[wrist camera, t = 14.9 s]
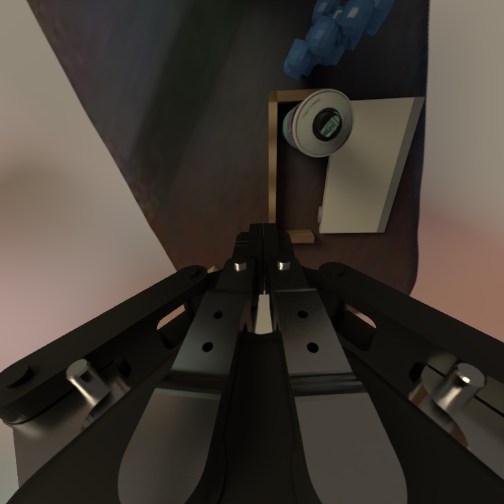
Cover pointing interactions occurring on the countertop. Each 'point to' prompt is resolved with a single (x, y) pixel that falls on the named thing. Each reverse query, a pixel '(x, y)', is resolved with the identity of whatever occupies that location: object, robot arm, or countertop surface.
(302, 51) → the grapes
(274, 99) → the wooden u-shaped bracket
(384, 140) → the cream thin rectangular board
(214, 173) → the countertop surface
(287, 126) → the spray can
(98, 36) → the countertop surface
